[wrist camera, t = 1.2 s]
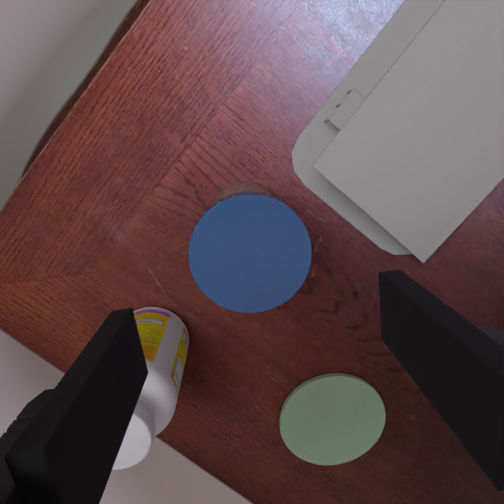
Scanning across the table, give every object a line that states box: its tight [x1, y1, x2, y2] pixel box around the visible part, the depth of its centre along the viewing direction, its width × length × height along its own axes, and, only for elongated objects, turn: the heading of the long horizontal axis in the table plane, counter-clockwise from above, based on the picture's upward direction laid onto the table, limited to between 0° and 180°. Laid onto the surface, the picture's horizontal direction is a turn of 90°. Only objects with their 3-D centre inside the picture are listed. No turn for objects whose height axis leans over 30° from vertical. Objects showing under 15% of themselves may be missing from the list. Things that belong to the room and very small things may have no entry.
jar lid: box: [188, 190, 312, 313], centre depth 23 cm, size 8×8×2 cm
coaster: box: [279, 373, 386, 465], centre depth 38 cm, size 11×11×1 cm
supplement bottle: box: [112, 307, 189, 470], centre depth 29 cm, size 7×7×13 cm
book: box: [291, 0, 504, 263], centre depth 29 cm, size 15×23×4 cm, turn 142°
